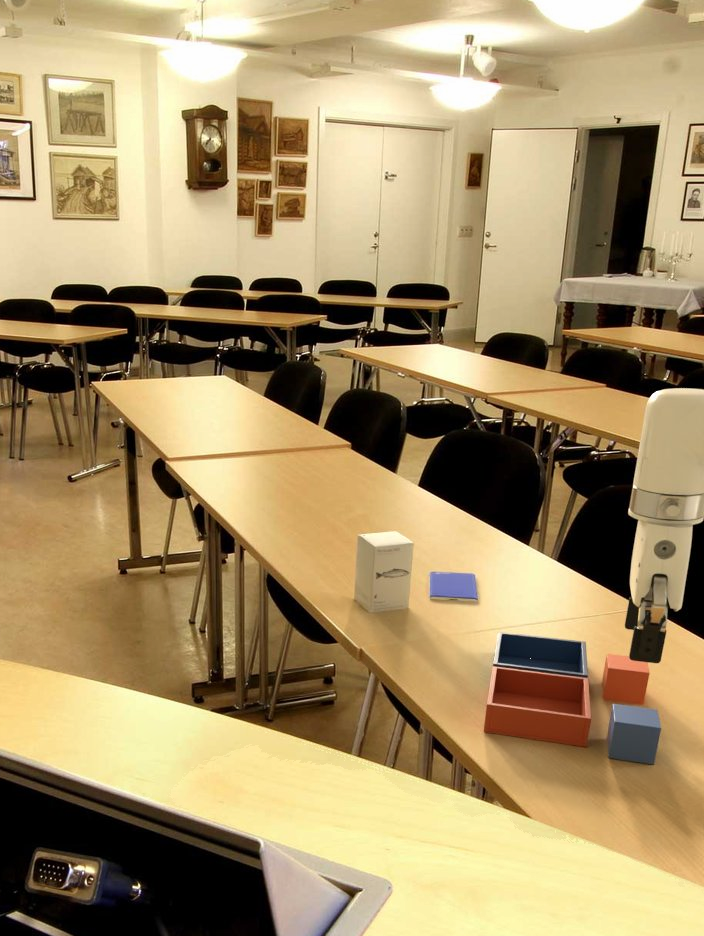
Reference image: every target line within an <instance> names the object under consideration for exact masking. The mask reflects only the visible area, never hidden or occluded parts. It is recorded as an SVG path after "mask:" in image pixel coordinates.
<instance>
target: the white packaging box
mask: <svg viewBox="0 0 704 936" xmlns="http://www.w3.org/2000/svg"><path fill="white" fill-rule="evenodd" d="M414 545H415V543H414V541H412V540H411V539H409V538H408V537H406V536H404V535H403V534H401V533H399V532H398V531H396V530H394V531H384V532H373V533H363V534H357V536H356V551H355V552H356V553H355V571H354V572H355V573H354V588H353V589H354V592H353V599H354V600H355V601H357V603H358V604H359V605H360V606H361V607H363V609H365V610H366V611H367V613H368V612H369V613H370V614H371V613H372V614H373V613H380V612H388V611H397V610H405V609H409V608H410V596H411V595H410V593H411V581H412V570H413V569H412V568H413V558H414Z"/></svg>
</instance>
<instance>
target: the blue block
mask: <svg viewBox="0 0 704 936" xmlns="http://www.w3.org/2000/svg"><path fill="white" fill-rule="evenodd" d="M660 720H661V719H660V716H659V711H658V709H655V708H649V707H640V706H633V705H626V704H618V703H612V705H611V712H610V716H609V723H608V728H607V733H606V747H607V756H608V759H615V760H621V761H626V762H633V763H640V764H641V763H642V764H647V765H652V766H654V765H655V762H656V758H657V757H656V756H657V752H658V747H659V742H660V737H661V732H662V725H661V721H660Z"/></svg>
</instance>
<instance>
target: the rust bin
mask: <svg viewBox="0 0 704 936" xmlns="http://www.w3.org/2000/svg"><path fill="white" fill-rule="evenodd" d="M590 695H591V694H590V683H589V677H588V678H583V677H575V676H567V675H559V674H551V673H543V672H535V671H527V670H519V669H511V668H503V667H495V666H493V665H492V669H491V676H490V680H489V688H488V695H487V702H486V709H485V716H484V725H483V732H484V733H487V734H489V733H490V734H496V735H502V736H509V737H515V738H516V737H517V738H523V739H528V740H529V739H530V740H536V741H542V742H548V743H556V744H562V745H570V746H576V747H583V748H587V747H588V741H589V734H590V728H591V722H592V713H591V712H592V711H591V699H590V698H591V697H590Z"/></svg>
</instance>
